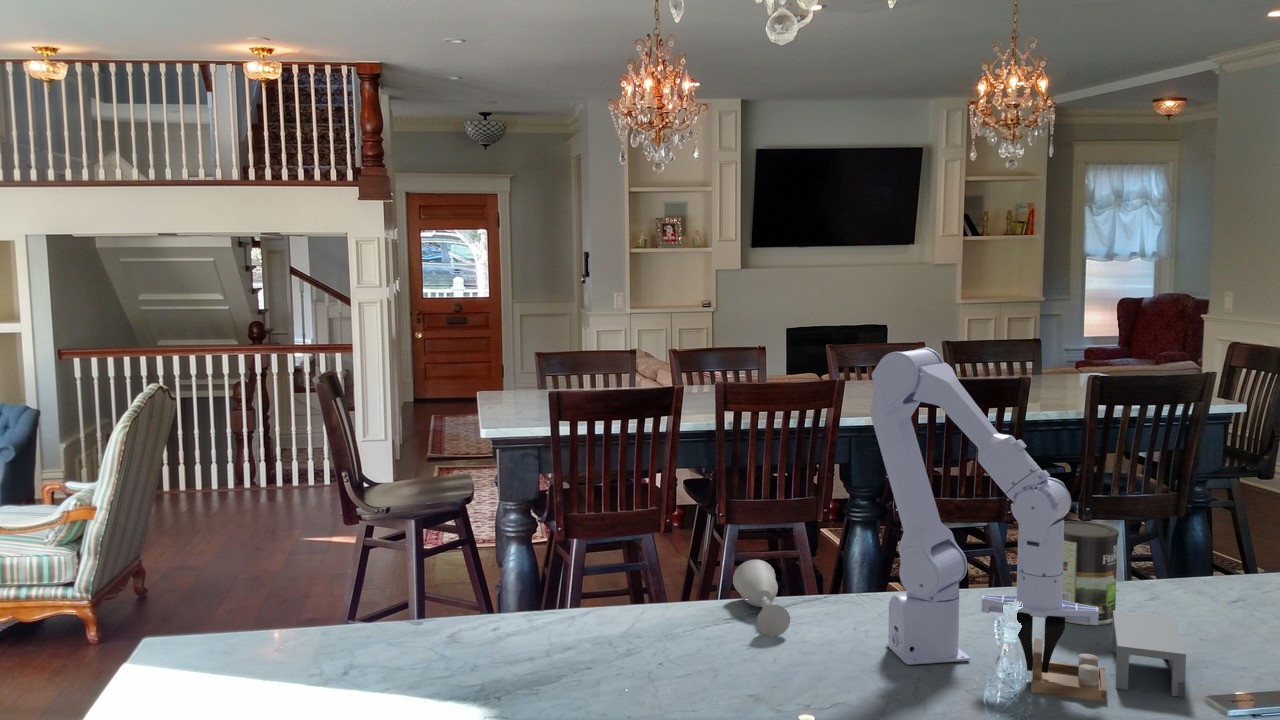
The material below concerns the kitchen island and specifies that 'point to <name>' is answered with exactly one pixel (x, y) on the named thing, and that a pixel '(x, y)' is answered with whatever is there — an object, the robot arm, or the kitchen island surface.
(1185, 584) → the kitchen island surface
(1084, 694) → the tray
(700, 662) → the kitchen island surface
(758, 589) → the chalice
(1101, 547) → the coffee can
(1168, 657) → the shelf
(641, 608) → the kitchen island surface
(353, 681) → the kitchen island surface
